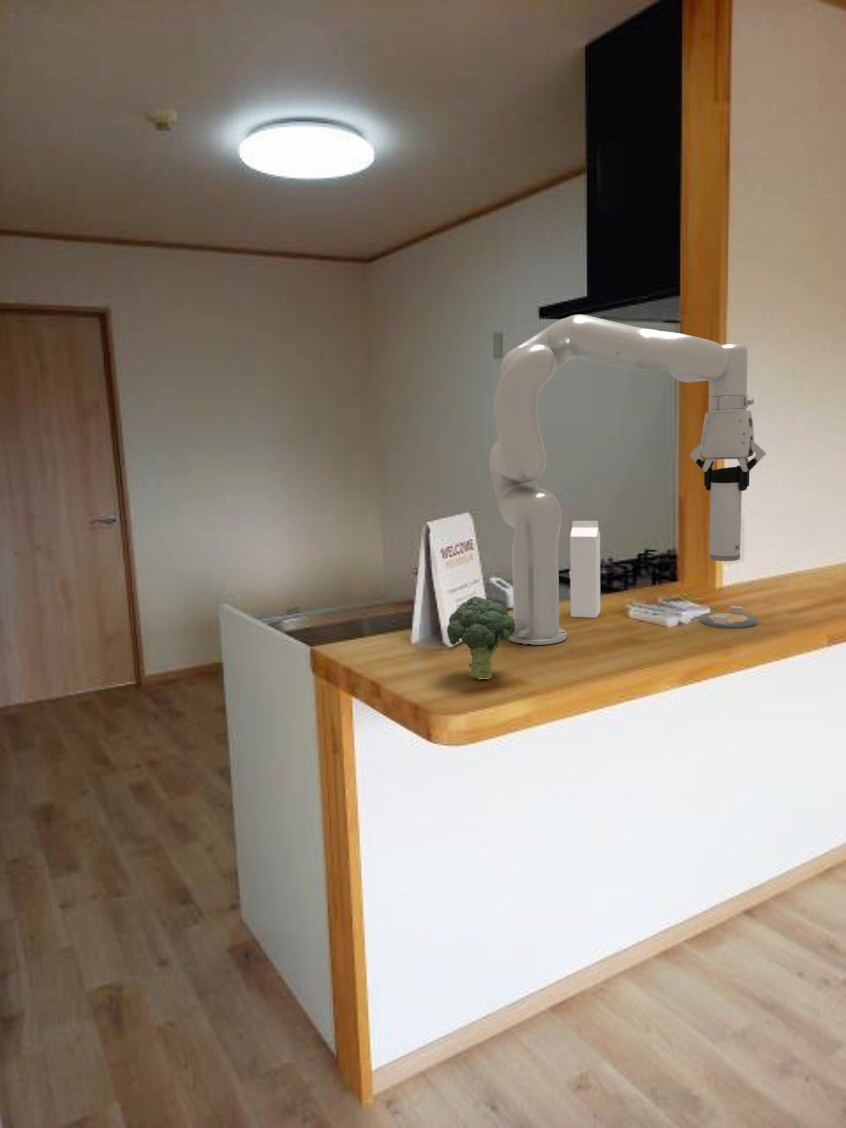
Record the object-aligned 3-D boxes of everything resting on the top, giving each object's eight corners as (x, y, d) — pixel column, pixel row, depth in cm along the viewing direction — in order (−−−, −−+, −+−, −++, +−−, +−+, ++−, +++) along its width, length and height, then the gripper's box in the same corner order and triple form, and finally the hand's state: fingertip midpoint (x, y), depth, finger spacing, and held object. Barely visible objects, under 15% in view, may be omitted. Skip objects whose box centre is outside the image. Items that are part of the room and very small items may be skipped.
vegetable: (513, 667, 157) (512, 588, 154) (518, 689, 144) (517, 604, 142) (448, 669, 157) (446, 590, 155) (448, 690, 145) (445, 606, 142)
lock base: (747, 630, 176) (747, 620, 176) (691, 624, 184) (691, 614, 183) (764, 619, 185) (765, 609, 185) (710, 612, 193) (710, 603, 192)
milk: (596, 618, 192) (596, 522, 188) (570, 617, 194) (569, 522, 190) (600, 612, 198) (600, 519, 194) (574, 610, 200) (574, 518, 196)
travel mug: (746, 560, 179) (748, 466, 176) (714, 561, 179) (716, 467, 176) (735, 555, 185) (737, 464, 182) (705, 556, 186) (707, 466, 182)
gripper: (775, 402, 174) (773, 488, 177) (693, 406, 185) (692, 487, 188) (765, 403, 169) (763, 492, 172) (680, 407, 179) (680, 491, 182)
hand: (726, 489), depth 180 cm, fingers closed on travel mug, 6 cm apart
